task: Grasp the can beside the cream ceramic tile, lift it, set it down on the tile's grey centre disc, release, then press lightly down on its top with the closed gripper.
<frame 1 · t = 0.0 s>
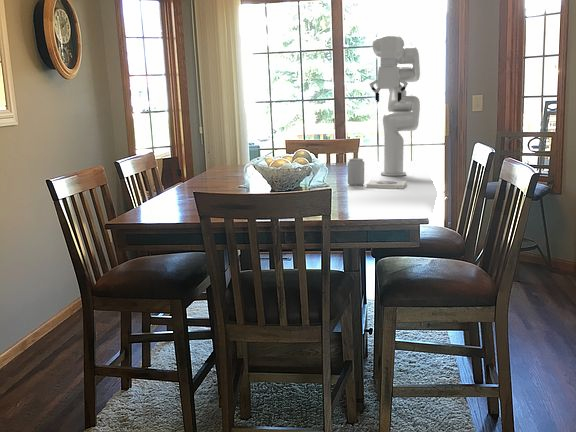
hand: (388, 101, 282), 37 cm above the table, tool pointing down, fingers open, 9 cm apart
can: (355, 185, 277), on the table
tile: (386, 186, 272), on the table
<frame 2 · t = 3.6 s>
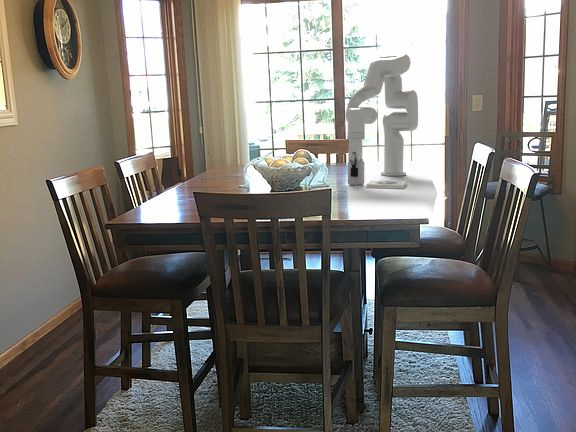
hand: (356, 175, 276), 4 cm above the table, tool pointing down, fingers closed on can, 7 cm apart
can: (356, 185, 277), on the table, touching gripper
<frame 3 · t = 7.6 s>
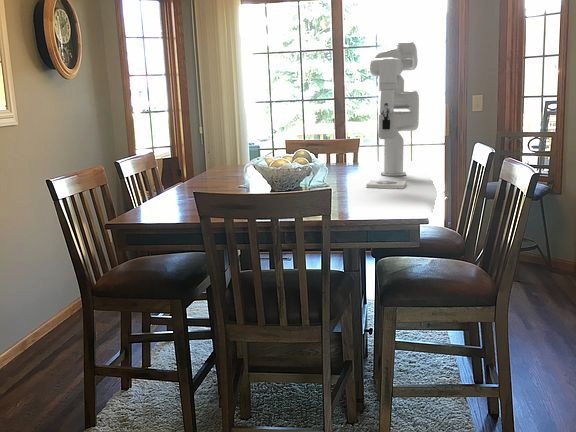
hand: (387, 128, 267), 25 cm above the table, tool pointing down, fingers closed on can, 7 cm apart
can: (387, 139, 268), point 21 cm above the table, touching gripper
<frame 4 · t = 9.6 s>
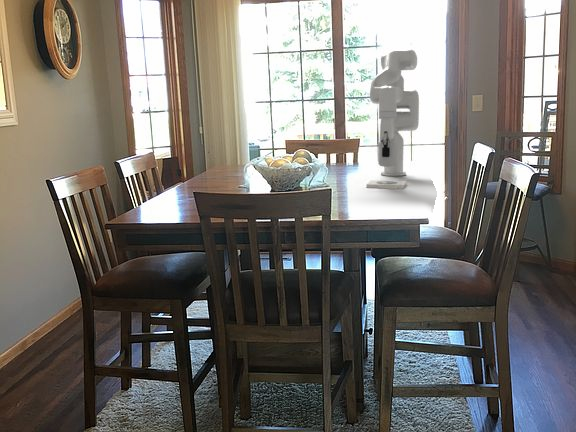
hand: (387, 155, 269), 13 cm above the table, tool pointing down, fingers closed on can, 7 cm apart
can: (386, 166, 270), point 9 cm above the table, touching gripper
when the fingers open (7 cm above the table, at t = 11.5 s): can stays where it is, resting on tile.
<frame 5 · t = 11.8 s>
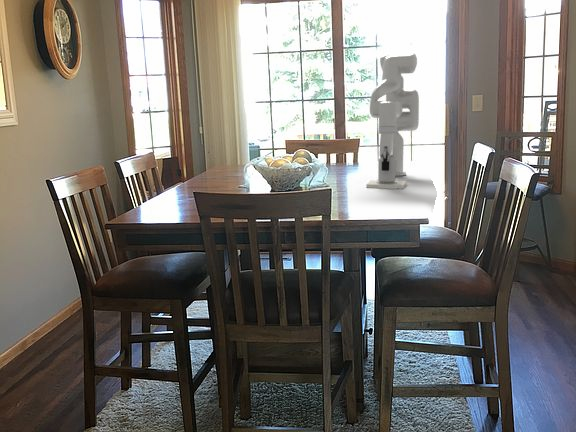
hand: (386, 169, 270), 7 cm above the table, tool pointing down, fingers open, 9 cm apart
can: (386, 182, 272), point 1 cm above the table, touching tile
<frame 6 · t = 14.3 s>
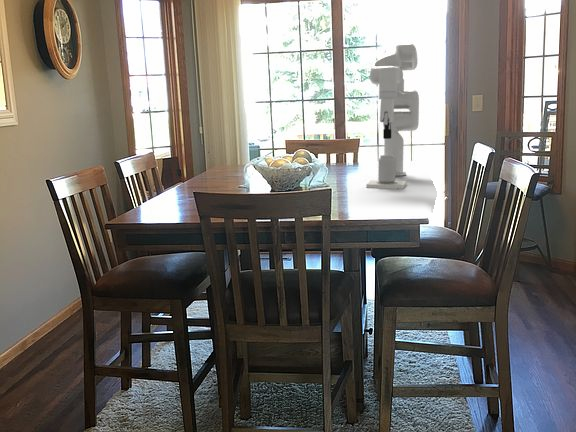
hand: (387, 138, 268), 21 cm above the table, tool pointing down, fingers closed
nothing on the table moved.
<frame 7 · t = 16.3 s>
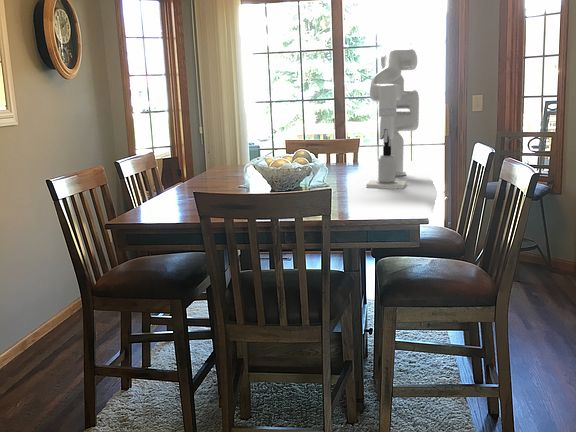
hand: (387, 155, 269), 14 cm above the table, tool pointing down, fingers closed
can: (386, 182, 272), point 1 cm above the table, touching gripper, tile
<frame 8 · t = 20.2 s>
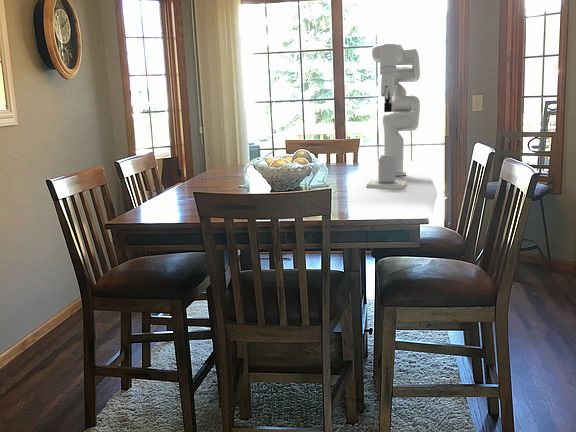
hand: (387, 112, 281), 32 cm above the table, tool pointing down, fingers closed
can: (386, 182, 272), point 1 cm above the table, touching tile
at the end: can 0.1 cm off-centre on the tile, point 1.4 cm above the tile's base; can tilted 0°; the gripper is holding nothing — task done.
